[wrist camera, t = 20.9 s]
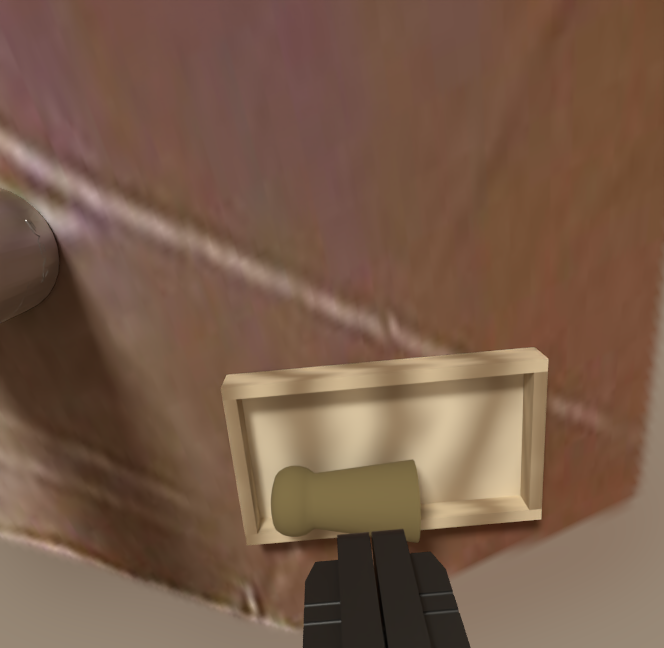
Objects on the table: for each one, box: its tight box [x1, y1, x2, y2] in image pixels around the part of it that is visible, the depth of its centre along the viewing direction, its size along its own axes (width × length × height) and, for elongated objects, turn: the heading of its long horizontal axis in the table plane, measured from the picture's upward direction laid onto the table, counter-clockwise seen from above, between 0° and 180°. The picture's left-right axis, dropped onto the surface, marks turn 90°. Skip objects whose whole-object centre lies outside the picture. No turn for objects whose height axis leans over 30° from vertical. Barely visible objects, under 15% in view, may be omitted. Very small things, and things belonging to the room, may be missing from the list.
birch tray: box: [221, 347, 548, 545], centre depth 40 cm, size 24×14×2 cm, turn 95°
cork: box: [271, 459, 421, 543], centre depth 38 cm, size 6×6×11 cm
